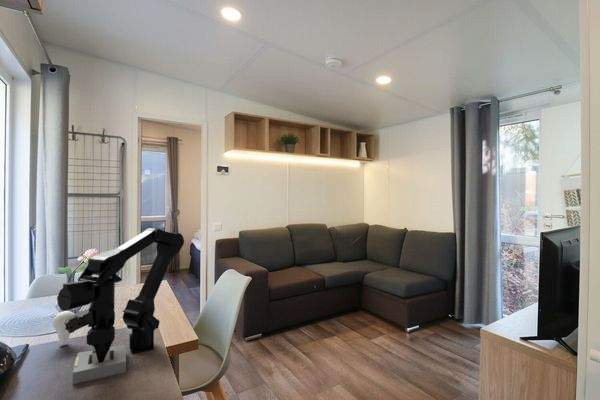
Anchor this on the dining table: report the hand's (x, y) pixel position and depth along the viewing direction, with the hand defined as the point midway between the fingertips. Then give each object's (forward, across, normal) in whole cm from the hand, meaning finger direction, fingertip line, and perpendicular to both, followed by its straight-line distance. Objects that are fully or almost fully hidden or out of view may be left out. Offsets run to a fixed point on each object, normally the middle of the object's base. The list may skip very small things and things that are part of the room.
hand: (101, 355), depth 88 cm
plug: (+4, 0, 0) cm, 4 cm away
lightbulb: (+4, -22, -11) cm, 25 cm away
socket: (+4, 0, 0) cm, 4 cm away
